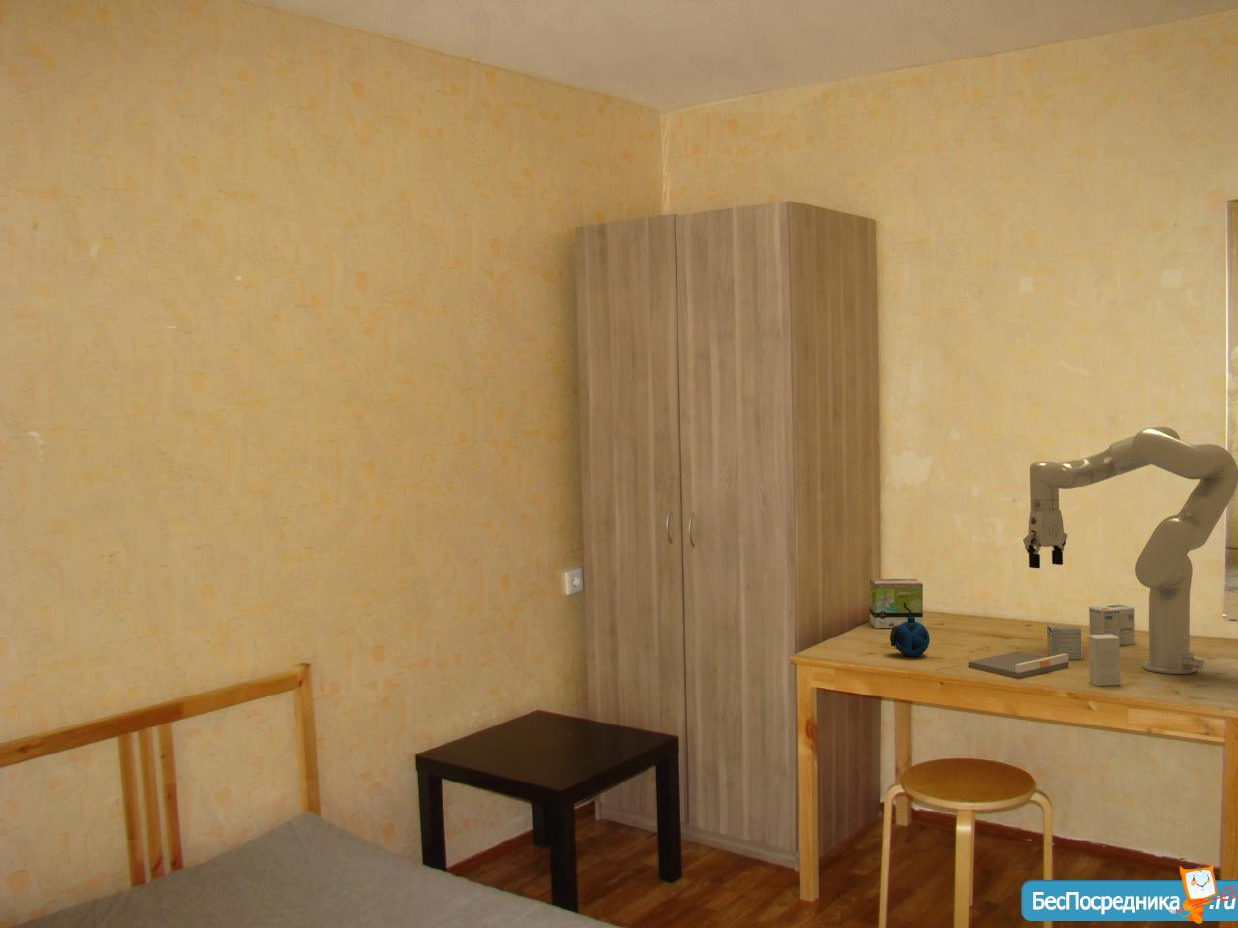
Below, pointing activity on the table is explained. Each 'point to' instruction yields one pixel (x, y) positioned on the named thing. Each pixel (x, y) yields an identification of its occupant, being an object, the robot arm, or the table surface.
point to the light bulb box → (1113, 622)
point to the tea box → (895, 601)
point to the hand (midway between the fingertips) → (1046, 566)
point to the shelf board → (1020, 664)
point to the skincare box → (1104, 660)
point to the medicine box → (1064, 641)
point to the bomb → (910, 637)
